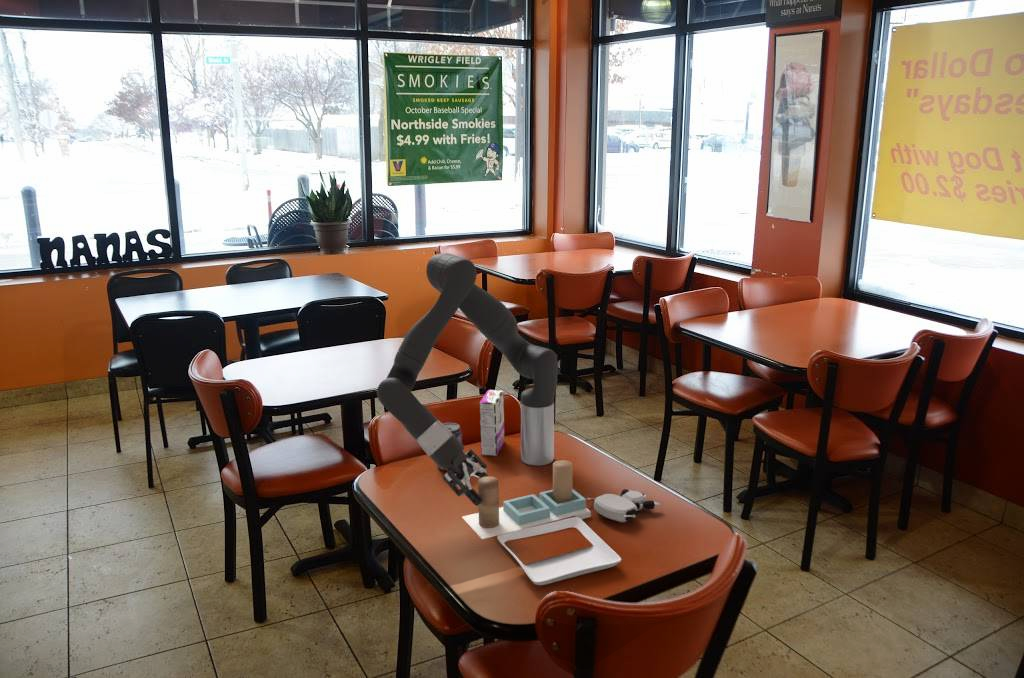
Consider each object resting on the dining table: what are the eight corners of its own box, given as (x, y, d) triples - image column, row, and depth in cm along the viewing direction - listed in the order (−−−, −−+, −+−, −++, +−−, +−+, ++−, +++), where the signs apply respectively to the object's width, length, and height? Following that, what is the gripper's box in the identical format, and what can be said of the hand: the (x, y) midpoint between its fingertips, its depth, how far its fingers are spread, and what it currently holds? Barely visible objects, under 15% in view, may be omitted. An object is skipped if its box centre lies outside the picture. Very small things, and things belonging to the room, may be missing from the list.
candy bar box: (488, 440, 245) (487, 389, 241) (505, 441, 244) (504, 390, 240) (480, 455, 235) (478, 402, 230) (496, 456, 234) (496, 403, 229)
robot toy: (625, 498, 210) (584, 513, 200) (626, 482, 209) (585, 496, 199) (662, 515, 201) (621, 531, 191) (664, 498, 200) (623, 514, 190)
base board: (461, 522, 197) (460, 474, 193) (566, 496, 209) (566, 451, 206) (482, 545, 186) (481, 495, 183) (590, 516, 199) (591, 469, 195)
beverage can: (461, 472, 224) (460, 431, 221) (436, 472, 224) (434, 431, 221) (463, 461, 231) (462, 421, 228) (438, 461, 231) (437, 422, 228)
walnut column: (475, 521, 194) (474, 478, 191) (493, 516, 196) (493, 474, 193) (484, 530, 190) (483, 486, 187) (502, 525, 192) (501, 482, 189)
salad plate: (534, 596, 167) (534, 581, 166) (495, 547, 186) (495, 534, 185) (623, 573, 175) (624, 558, 174) (577, 528, 194) (577, 515, 193)
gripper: (437, 446, 184) (486, 500, 183) (461, 424, 197) (507, 474, 196) (417, 465, 187) (465, 517, 186) (442, 442, 200) (486, 491, 199)
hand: (486, 495), depth 191 cm, fingers open, 8 cm apart
